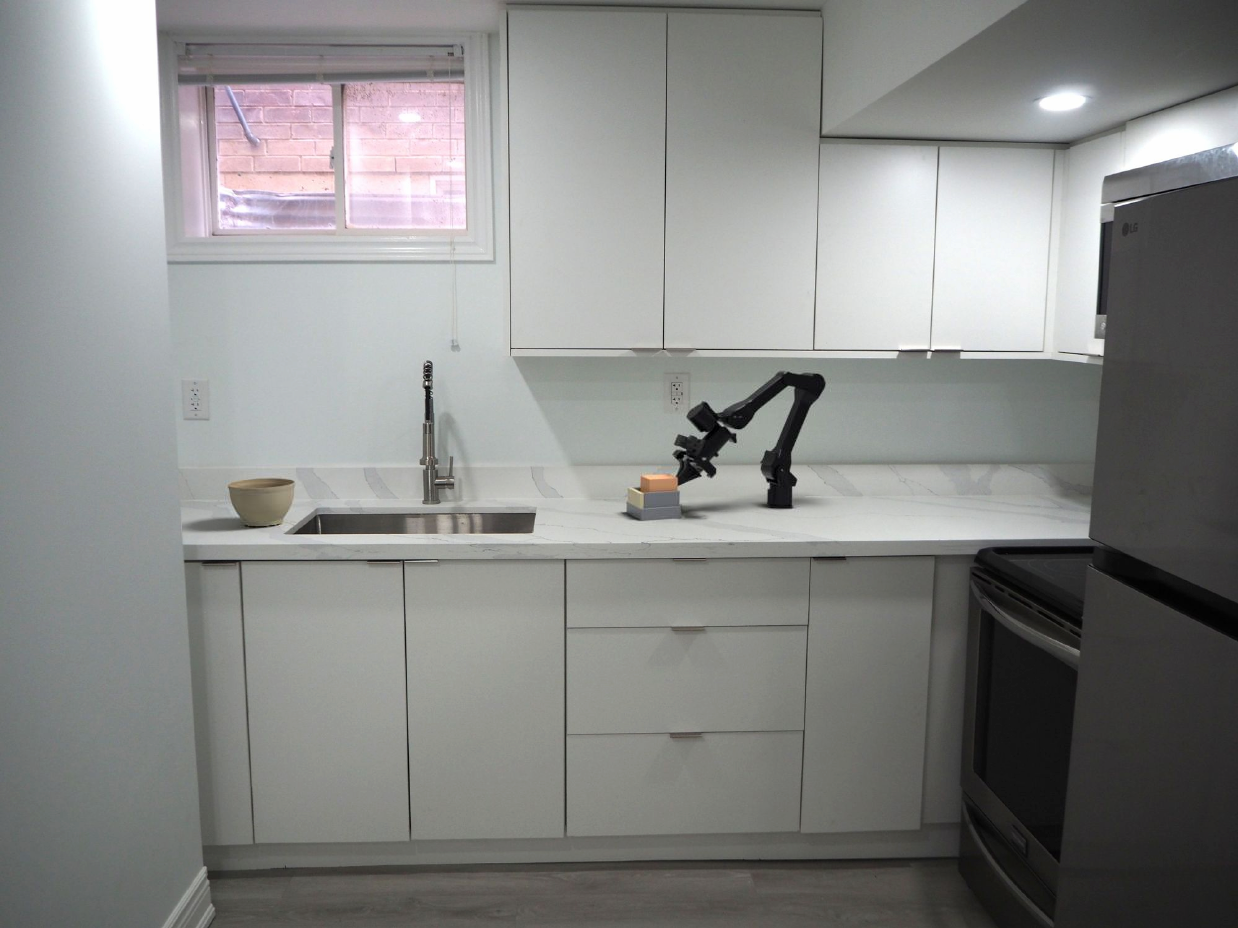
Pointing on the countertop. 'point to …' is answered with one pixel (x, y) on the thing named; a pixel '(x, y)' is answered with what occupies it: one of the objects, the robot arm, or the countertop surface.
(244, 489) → the planter bowl
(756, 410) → the robot arm
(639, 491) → the open gray box
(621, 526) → the countertop surface
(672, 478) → the orange block
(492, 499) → the countertop surface
